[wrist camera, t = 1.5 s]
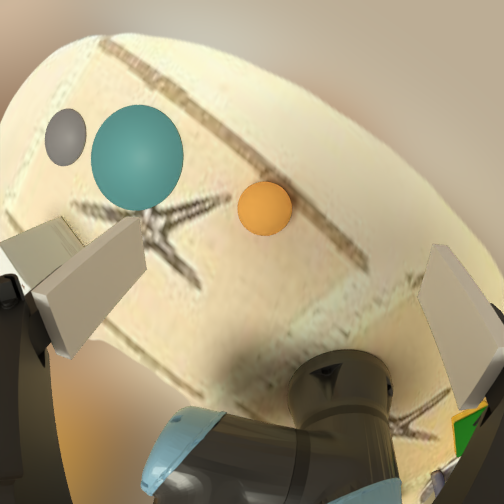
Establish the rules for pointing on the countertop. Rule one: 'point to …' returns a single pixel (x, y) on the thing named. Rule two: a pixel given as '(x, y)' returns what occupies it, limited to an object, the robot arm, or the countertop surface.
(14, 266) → the supplement box
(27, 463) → the robot arm
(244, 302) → the countertop surface
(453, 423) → the dish sponge
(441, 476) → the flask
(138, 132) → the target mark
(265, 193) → the ball
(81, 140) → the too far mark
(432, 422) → the countertop surface
